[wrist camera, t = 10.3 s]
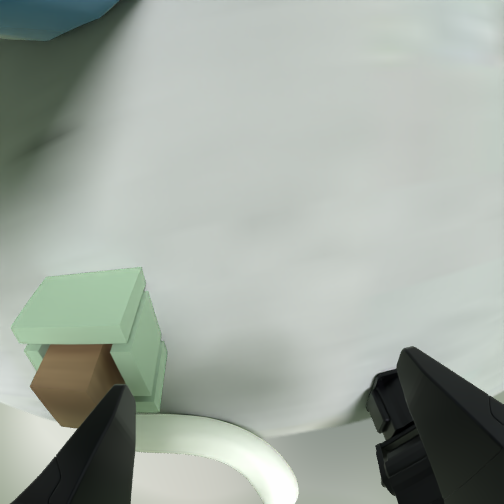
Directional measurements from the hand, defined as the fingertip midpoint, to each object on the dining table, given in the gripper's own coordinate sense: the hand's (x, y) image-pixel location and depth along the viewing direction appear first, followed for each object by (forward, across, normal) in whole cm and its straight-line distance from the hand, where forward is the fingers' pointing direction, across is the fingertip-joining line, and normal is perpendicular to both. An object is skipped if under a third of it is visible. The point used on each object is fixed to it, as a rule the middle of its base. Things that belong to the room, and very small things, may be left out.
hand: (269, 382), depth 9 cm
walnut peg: (+12, +11, +6) cm, 17 cm away
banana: (+12, +6, +20) cm, 24 cm away
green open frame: (+12, +11, +6) cm, 17 cm away
